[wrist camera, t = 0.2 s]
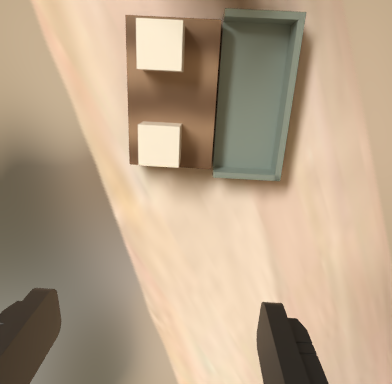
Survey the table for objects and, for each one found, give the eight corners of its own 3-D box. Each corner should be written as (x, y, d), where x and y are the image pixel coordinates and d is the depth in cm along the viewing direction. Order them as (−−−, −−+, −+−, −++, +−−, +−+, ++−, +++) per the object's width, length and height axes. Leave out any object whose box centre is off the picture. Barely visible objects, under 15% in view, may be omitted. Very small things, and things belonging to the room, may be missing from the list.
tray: (223, 15, 33) (225, 8, 30) (297, 19, 33) (306, 12, 30) (212, 170, 39) (213, 177, 36) (274, 173, 39) (280, 181, 36)
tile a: (142, 24, 31) (135, 17, 28) (185, 26, 31) (182, 20, 28) (142, 70, 32) (136, 68, 29) (183, 72, 32) (181, 71, 29)
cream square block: (143, 121, 34) (137, 124, 31) (181, 123, 34) (179, 126, 31) (143, 159, 36) (138, 165, 33) (180, 161, 36) (178, 167, 33)
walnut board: (132, 21, 33) (125, 14, 31) (220, 25, 33) (221, 19, 30) (135, 158, 39) (129, 164, 36) (210, 162, 39) (211, 168, 36)
